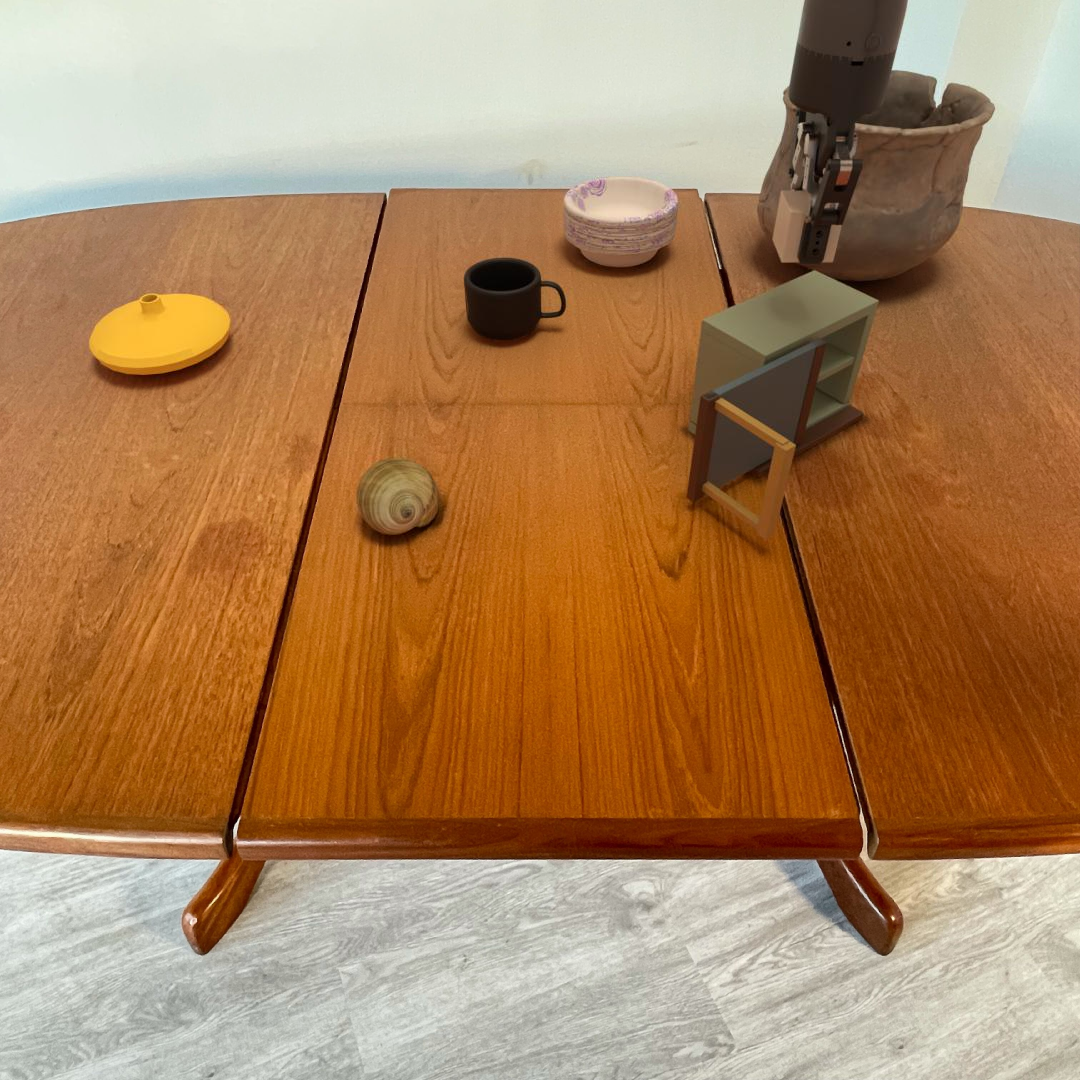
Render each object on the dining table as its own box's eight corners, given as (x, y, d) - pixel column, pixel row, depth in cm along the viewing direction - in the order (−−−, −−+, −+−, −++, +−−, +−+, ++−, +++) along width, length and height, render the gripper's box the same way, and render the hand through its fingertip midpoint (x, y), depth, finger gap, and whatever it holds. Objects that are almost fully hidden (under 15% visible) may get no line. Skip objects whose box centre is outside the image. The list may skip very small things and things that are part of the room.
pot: (920, 230, 125) (969, 66, 111) (960, 313, 108) (1024, 132, 94) (742, 224, 127) (767, 62, 112) (755, 305, 110) (786, 127, 96)
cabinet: (862, 419, 93) (895, 308, 84) (758, 478, 86) (781, 364, 77) (790, 377, 99) (814, 269, 90) (687, 430, 92) (702, 319, 83)
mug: (461, 346, 104) (456, 291, 99) (474, 308, 111) (470, 254, 106) (561, 351, 103) (562, 296, 98) (569, 313, 110) (570, 259, 105)
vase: (217, 389, 98) (200, 334, 93) (77, 391, 98) (52, 336, 93) (250, 317, 110) (236, 264, 105) (124, 319, 110) (104, 266, 105)
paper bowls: (580, 223, 128) (581, 168, 123) (683, 236, 125) (689, 180, 119) (548, 270, 118) (548, 212, 112) (660, 286, 114) (665, 227, 109)
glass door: (868, 483, 84) (901, 381, 76) (758, 551, 77) (781, 447, 69) (795, 437, 89) (818, 337, 81) (686, 497, 83) (700, 395, 75)
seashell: (386, 521, 88) (323, 487, 83) (426, 464, 88) (366, 425, 82) (428, 565, 81) (363, 531, 76) (472, 503, 81) (409, 464, 75)
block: (821, 239, 81) (832, 190, 78) (833, 262, 78) (845, 212, 75) (772, 239, 81) (781, 190, 78) (781, 262, 78) (791, 212, 75)
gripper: (781, 14, 73) (749, 215, 85) (818, 66, 63) (776, 287, 74) (872, 13, 73) (827, 214, 85) (924, 66, 62) (865, 287, 74)
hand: (803, 247), depth 79 cm, fingers closed on block, 4 cm apart
